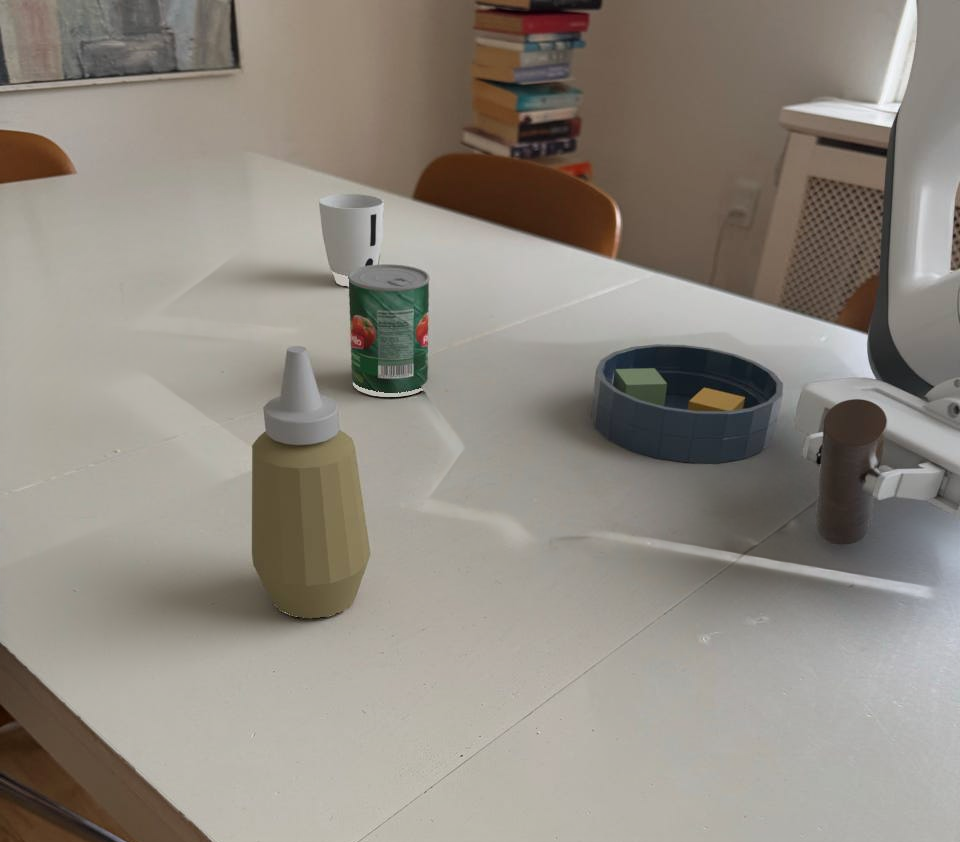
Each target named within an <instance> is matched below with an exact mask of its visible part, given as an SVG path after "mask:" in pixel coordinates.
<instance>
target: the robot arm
mask: <svg viewBox="0 0 960 842" xmlns="http://www.w3.org/2000/svg"><path fill="white" fill-rule="evenodd" d="M915 3H916V4H915V5H916V38H915V45H914V51H913V52H914V53H913V57H912V63H911V68H910V73H909V76H908V81H907V84H906V88H905V91H904V95H903V97H902V100H901V103H900V105H899V108H898V109H897V112H896V114H895V117H894V120H893V122H892V125H891V128H890V132H889V137H888V142H887V143H888V144H887V153H886V160H885V161H886V162H885V173H884V187H883V204H882V220H881V237H880V238H881V239H880V255H879V257H880V258H879V271H878V283H877V290H876V291H877V292H876V297H875V301H874V306H873V310H872V314H871V318H870V322H869V326H868V331H867V340H866V350H867V351H866V353H867V359H868V365H869V368H870V370H871V372H872V374H873V376H874V378H873V377H872V378H871V377H843V378H836V379H835V378H833V379H826V380H818V381H813V382H809V383H807V384H805V385H804V387H803V388H802V390H801V391H800V394H799V397H798V399H797V404H796V409H795V413H794V414H795V415H794V420H793V425H794V427H795V429H796V430H798V431H799V432H801V433H802V434H805V435H806V436H807V437H806V438H805V440H804V444H803V448H802V452H801V455H802V457H803V458H805V459H806V460H808V461H810V462H812V463H814V464H816V465H818V466H820V463H821V451H822V438H823V426H824V419H825V416H826V414H827V413H828V411H829V410H830V409H831V408H832V407H833V406H835V405H836V404H838V403H840V402H843V401H846V400H851V399H862V400H867V401H870V402H873V403H875V404H876V405H878V406H879V407H880V408H881V409H882V410H883V411H884V413H885V414H886V417H887V428H886V434H885V440H884V446H883V452H882V458H881V465H880V466H879V467H878V468H873V469H871V470H869V471H868V472H867V473H866V476H865V481H866V482H865V483H864V484H863V486H862V490H863V491H865V492H866V493H868V494H870V495H871V496H873V497H875V500H877V501H882V500H886V499H889V498H893V497H895V498H900V499H908V500H918V501H927V502H928V503H930V504H932V505H933V506H936V507H937V508H939V509H941V510H943V511H945V512H946V513H948V514H950V515H952V516H953V517H955V518H957V519H959V520H960V268H958V269H956V270H953V271H951V265H952V250H953V235H954V220H955V206H956V196H957V192H958V187H959V186H960V0H915Z"/></svg>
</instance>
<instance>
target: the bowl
mask: <svg viewBox="0 0 960 842" xmlns="http://www.w3.org/2000/svg"><path fill="white" fill-rule="evenodd" d="M642 368H655V369H656V371H657V372H658V373H659V374H660V376H661V377H662V378H663V379H664V380H665V382H666V383H667V389H666V395H665V402H664V406H661V405H657V404H653V403H649V402H646V401H642V400H639V399H637V398H634V397H632V396H630V395H628V394H625V393H623V392H621V391H619V390H618V389H616V388H615V387H614V386H613V381H614V373H615V369H642ZM594 374H595V375H594V383H593V390H592V391H593V392H592V399H591V410H590V418H591V422H592V424H593V426H594V429H595V430H596V431H598V432H599V433H600V434H601V435H602V436H603V437H604V438H605V439H607V440H608V441H609V442H612V443H613V444H616V445H618V446H620V447H622V448H624V449H626V450H628V451H631V452H633V453H637V454H640V455H645V456H647V457H651V458H654V459H660V460H666V461H673V462H681V463H687V464H721V463H727V462H734V461H740V460H745V459H748V458H750V457H752V456H754V455H757V454H760V453H762V452H763V451H764V450H765V449H766V448H767V447H768V446H769V445H770V444H771V443H772V442H773V439H774V436H775V432H776V431H775V430H776V426H777V421H778V417H779V411H780V408H781V404H782V400H783V395H784V383H783V382H782V380H781V379H780V378H779V376H777V374H776V373H775V372H774V371H772V370H771V369H769V368H767V367H766V366H765V365H762V364H761V363H760V362H757V361H754V360H752V359H749V358H746V357H744V356H741V355H739V354H736V353H732V352H727V351H723V350H719V349H716V348H710V347H704V346H696V345H687V344H661V343H659V344H647V345H638V346H637V345H636V346H630V347H627V348H623V349H620V350H617V351H616V350H615V351H612V352H611V353H609V354H608V355H606V356H604V357H603V358H602V359H599V362H598V364H597V366H596V369H595V373H594ZM703 388H708V389H713V390H717V391H721V392H725V393H729V394H734V395H738V396H742V397H745V401H744V406H743V409H739V410H731V411H692V410H688V404H689V401H690V400H691V399H692V398H693V397H694V396H695V395H696V394H697V393H699V392H700V391H701V390H702V389H703Z"/></svg>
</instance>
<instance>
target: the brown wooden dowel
mask: <svg viewBox="0 0 960 842" xmlns="http://www.w3.org/2000/svg"><path fill="white" fill-rule="evenodd" d="M886 428H887V417H886V414H885V413H884V411H883V410H882V409H881V408H880V407H879V406H878V405H876V404H875V403H873V402H870V401H867V400H862V399H851V400H846V401H843V402H840V403H838V404H836V405H835V406H833V407H832V408H831V409H830V410H829V411H828V413H827V414H826V416H825V419H824V426H823V438H822V451H821V463H820V465H819V477H818V489H817V501H816V513H815V528H816V531H817V533H818V534H819V536H820V537H821V538H822V539H823V540H825V541H827V542H828V543H831V544H834V545H837V546H838V545H839V546H840V545H841V546H847V545H848V546H849V545H852V544H856V543H858V542H860V541H861V540H863V539H864V538H865V537H866V536H867V534H868V533H869V532H870V529H871V525H872V519H873V513H874V508H875V507H874V506H875V502H876V501H875V500H876V498H875V497H873V496H871V495H870V494H868V493H866V492H865V491H863V490H862V486H863V484H864V483H865V482H866V481H865V476H866V473H867V472H868V471H869V470H871V469H873V468H878V467H879V466H880V465H881V458H882V452H883V446H884V440H885V434H886Z"/></svg>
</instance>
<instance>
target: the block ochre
mask: <svg viewBox="0 0 960 842" xmlns="http://www.w3.org/2000/svg"><path fill="white" fill-rule="evenodd" d="M744 401H745V397H742V396H738V395H734V394H729V393H725V392H721V391H717V390H713V389H708V388H703V389H702V390H701V391H700V392H699V393H697V394H696V395H695V396H694V397H693V398H692V399H691V400H690V401H689V404H688V410H692V411H731V410H739V409H743V406H744Z"/></svg>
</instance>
